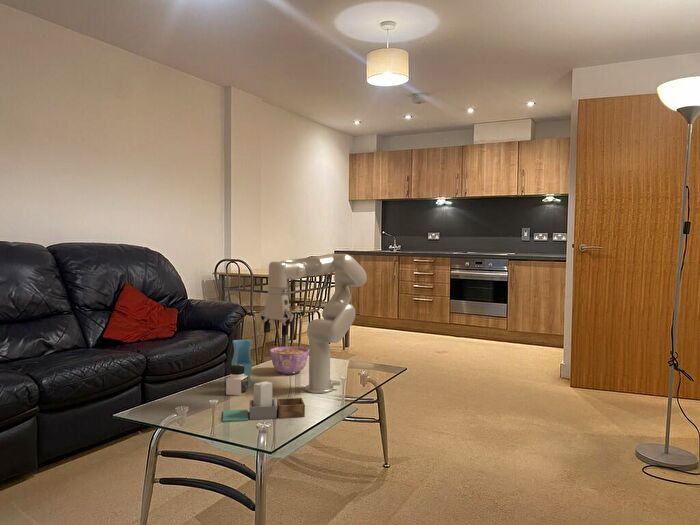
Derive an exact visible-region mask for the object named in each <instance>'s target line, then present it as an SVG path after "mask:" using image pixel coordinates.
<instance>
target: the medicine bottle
mask: <svg viewBox="0 0 700 525" xmlns="http://www.w3.org/2000/svg"><path fill="white" fill-rule="evenodd" d="M225 382H226V383H225V384H226V385H225V388H226V389H225V394H226V395H227V396H237V397H238V396H239V397H241V396H243V395H245V394H247V393H248V391H249V386H248V376H246V375H244V366H242V365H233V366H232V365H231V366H230V368H229V376H228V377H227V378H226V380H225Z"/></svg>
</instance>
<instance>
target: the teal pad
mask: <svg viewBox="0 0 700 525" xmlns="http://www.w3.org/2000/svg"><path fill="white" fill-rule="evenodd" d="M248 413H249V412H248V409H227V410H226V409H225V410H223V413H222V422H223V423H233V422H248V421H249V414H248Z"/></svg>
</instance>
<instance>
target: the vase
mask: <svg viewBox="0 0 700 525" xmlns="http://www.w3.org/2000/svg"><path fill="white" fill-rule="evenodd" d="M232 345H233V357H232V359H231V366H233V365H242V366H244V375H246V376H248V387H251V386H252V383H251V382H252V381H251V373H252V368H253V362H252V358H251V349H252V346H253V341H251V340H250V339H235V340H232Z"/></svg>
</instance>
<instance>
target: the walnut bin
mask: <svg viewBox="0 0 700 525" xmlns="http://www.w3.org/2000/svg"><path fill="white" fill-rule="evenodd" d="M276 406H277V412H276V414H277V416H278V419H286V418H288V419H289V418H305V417H306V416H305V415H306V413H305V412H306V405H305V402H304V399H303V397H292V398H291V397H290V398H288V397H287V398H286V397H285V398H276Z"/></svg>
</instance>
